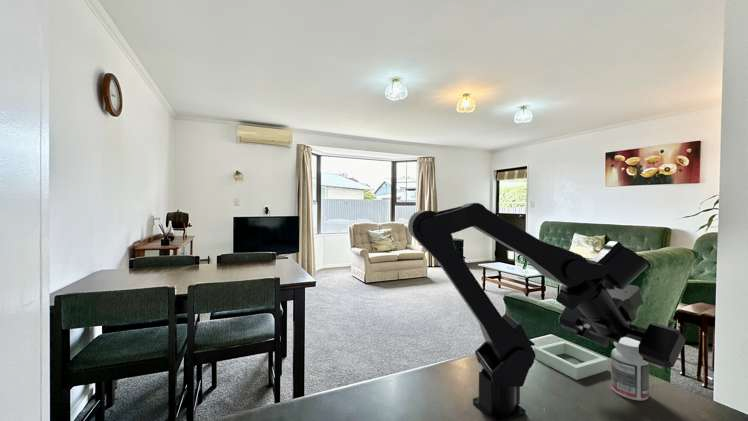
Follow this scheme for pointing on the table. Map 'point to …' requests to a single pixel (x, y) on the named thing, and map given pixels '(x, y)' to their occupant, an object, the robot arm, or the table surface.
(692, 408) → the table surface
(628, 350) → the pill bottle
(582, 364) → the bottle holder
